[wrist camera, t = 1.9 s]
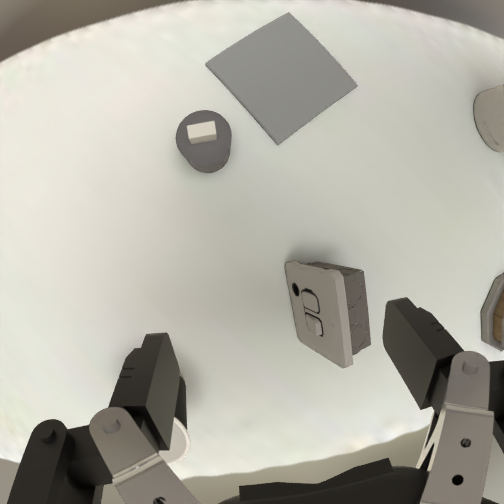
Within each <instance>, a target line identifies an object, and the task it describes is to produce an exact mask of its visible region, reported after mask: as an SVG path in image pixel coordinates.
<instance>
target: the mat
mask: <svg viewBox="0 0 504 504" xmlns="http://www.w3.org/2000/svg"><path fill="white" fill-rule="evenodd" d="M206 66H207V67H208V68H209V69H210V70H211V71H212V72H213V73H214V75H215V76H216V77H217V78H218V79H219V80H220V81H221V82H222V83H223V84H224V85H225V86H226V87H227V88H228V89H229V91H230V92H231V93H232V94H233V95H234V96H235V97H236V98H237V99H238V100H239V102H240V103H241V104H242V105H243V106H244V107H245V108H246V109H247V110H248V112H249V113H250V114H251V115H252V116H253V117H254V118H255V120H256V121H257V122H258V123H259V124H260V125H261V126H262V128H263V129H264V130H265V131H266V132H267V133H268V135H269V136H270V137H271V138H272V139H273V140H274V142H275V143H276V144H277V145H279V144H280V143H281V142H283V141H284V140H285V139H286V138H288V137H289V136H290V135H292V134H293V133H294V132H296V131H297V130H298V129H300V128H301V127H302V126H303V125H305V124H306V123H307V122H309V121H310V120H311V119H313V118H314V117H316V116H317V115H318V114H320V113H321V112H322V111H324V110H325V109H326V108H328V107H329V106H330V105H332V104H333V103H335V102H336V101H337V100H339V99H340V98H342V97H343V96H344V95H346V94H347V93H349V92H350V91H351V90H353V89H354V88H356V87H357V86H358V85H357V84H356V83H355V82H354V80H353V79H352V78H351V77H350V76H349V75H348V73H347V72H346V71H345V70H344V69H343V68H342V66H341V65H340V64H339V63H338V62H337V61H336V60H335V59H334V58H333V56H332V55H331V54H330V53H329V52H328V51H327V50H326V49H325V48H324V47H323V46H322V45H321V44H320V42H319V41H318V40H317V39H316V38H315V37H314V36H313V35H312V34H311V33H310V32H309V31H308V30H307V29H306V28H305V27H304V26H303V25H302V24H301V23H300V22H299V21H298V20H297V19H295V18H294V17H293V16H292V15H291V14H290V13H289V12H288V13H287V14H285V15H283V16H281V17H279V18H277V19H275V20H274V21H272V22H270V23H268V24H267V25H265V26H263V27H261V28H260V29H258V30H256V31H255V32H253V33H251V34H250V35H248V36H246V37H245V38H243V39H241V40H240V41H238V42H237V43H235V44H233V45H232V46H230V47H229V48H227V49H226V50H224V51H223V52H221V53H220V54H218V55H217V56H215V57H214V58H212V59H211V60H209V61H208V62H206Z"/></svg>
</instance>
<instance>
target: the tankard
mask: <svg viewBox="0 0 504 504" xmlns="http://www.w3.org/2000/svg"><path fill="white" fill-rule="evenodd" d="M481 318H482V341H484V342H485V343H487V344H489V345H491V346H493V347H495V348H496V349H498V350H500V351H503V350H504V274H502V275H501V276H499V277H498V278H496V279H495V281H494V283H493V285H492V288H491V290H490V293H489V295H488V297H487V299H486V302H485V304H484V306H483V308H482V310H481Z"/></svg>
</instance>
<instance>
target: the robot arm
mask: <svg viewBox="0 0 504 504" xmlns="http://www.w3.org/2000/svg"><path fill="white" fill-rule="evenodd" d="M474 117H475V121H476V125H477V128H478V130H479V132H480V134H481V136H482V138H483V140H484V141H485V142H486V144H487V145H488V146H489V147H490V148H492V149H493V150H495V151H499V152H502V151H504V85H502V86H498V87H495V88H493V89H490V90H487V91H484V92H482V93H480V94H479V95H478V96H477V97H476V99H475V103H474ZM383 344H384V347H385V350H386V352H387V353H388V355H389V357H390V358H391V360H392V362H393V363H394V365H395V367H396V368H397V370H398V372H399V373H400V375H401V377H402V378H403V380H404V382H405V384H406V385H407V387H408V389H409V390H410V392H411V394H412V396H413V397H414V399H415V401H416V403H417V404H418V406H419V408H420V410H422V409H425V408H428V407H431V406H432V408H433V409H434V412H433V415H432V418H431V422H430V425H429V429H428V433H427V436H426V440H425V443H424V446H423V449H422V453H421V456H420V458H419V461H418V463H417V465H416V468H413V467H406V466H391V463H390V461H389V458H386V459H383V460H379V461H375V462H372V463H368V464H365V465H361V466H357V467H354V468H352V469H350V470H348V471H346V472H344V473H341V474H339V475H337V476H335V477H333V478H331V479H328V480H326V481H324V482H321V483H318V484H303V483H284V482H274V483H265V484H257V485H246V486H239V490H240V491H239V493H240V495H238V496H235V497H232V498H229V499H227V500H225V501H223V502H221V503H219V504H498V503H495V502H493V501H491V500H488V499H486V498H483V497H482V495H483V491H484V485H485V481H486V475H487V469H488V464H489V457H490V450H491V442H492V433H493V435H494V436H495V438H496V440H497V442H498V444H499V446H500V448H501V449H502V451H503V453H504V360H503V361H493V362H488V360H487V359H486V358H485V357H484V356H483V355H481V354H479V353H477V352H473V351H464V350H463V349H462V348H461V347H460V345H459V344H458V343H457V342H456V341H455V340H454V338H453V337H452V336H451V335H450V334H449V333H448V332H447V330H444V327H443V326H442V325H441V324H440V323H439V321H438V320H437V319H436V318H435V317H434V316H433V315H432V314H431V313H430V312H428V311H426V310H424V309H422V308H421V307H420V308H416V306H415V305H414V304H413V303H412V302H411V301H410V300H409V299H408V298H407V297H405V298H400V299H396V300H391V301H388V302H387V304H386V310H385V319H384V327H383ZM179 382H180V371H179V366H178V362H177V359H176V356H175V353H174V350H173V347H172V344H171V341H170V338H169V335H168V334H167V333H154V334H146V336H145V338H144V341H143V344H142V347H141V348H135V349H134V350H133V351H132V352H131V353H130V354H129V355H128V356H127V357H126V359H125V362H124V364H123V367H122V370H121V373H120V375H119V378H118V381H117V384H116V386H115V389H114V392H113V395H112V398H111V401H110V404H109V406H108V408H105V409H103V410H101V411H99V412H98V413H97V414H95V415H94V417H93V418H92V419H91V421H90V424H89V425H86V426H82V427H77V428H72V429H67V428H66V427H65V425H64V424H63V423H62V422H61V421H59V420H55V419H50V420H46V421H43V422H41V423H40V424H38V425H37V426H36V427H35V428H34V430H33V432H32V434H31V436H30V439H29V441H28V444H27V446H26V449H25V452H24V454H23V457H22V460H21V463H20V465H19V468H18V471H17V474H16V477H15V480H14V483H13V486H12V489H11V492H10V496H9V499H8V502H7V504H101V499H102V493H103V487H104V485H105V484H111V483H114V485H115V487H116V489H117V491H118V492H119V494H120V496H121V497H122V499H123V501H124V502H125V504H200V503H199V501H198V500H197V499H196V498H195V497H194V496H193V495H192V494H191V493H190V491H189V490H188V489H187V488H186V487H185V485H184V484H183V483H182V482H181V481H180V480H179V478H178V477H177V476H176V475H175V473H174V472H173V471H172V470H171V469H170V467H169V466H168V465H167V463H166V462H165V461H164V460H163V458H162V457H161V456H160V455H158V453H159V451H170V444H171V436H172V429H173V422H174V415H175V408H176V401H177V395H178V388H179Z"/></svg>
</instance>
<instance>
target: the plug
mask: <svg viewBox="0 0 504 504" xmlns="http://www.w3.org/2000/svg"><path fill="white" fill-rule="evenodd" d="M176 143H177V147H178V149H179V151H180V152H181V154H182V155H183V156H184V157H185V158H186V160H187V161H188V162H189V163H190V164H191V166H192V167H193V168H195V169H196V170H198V171H200V172H203V173H212V172H215V171H218V170H219V169H221V168H222V167H223V166H224V165H225V164H226V162H227V160H228V158H229V153H230V145H231V129H230V126H229V124H228V122H227V121H226V120H225V119H224V118H223V117H222V116H221V115H220V114H218V113H216V112H213V111H208V110H202V111H196V112H194V113H191V114H190V115H188V116H187V117H185V118H184V119H183V121H182V122H181V123H180V125H179V127H178V129H177V133H176Z"/></svg>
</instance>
